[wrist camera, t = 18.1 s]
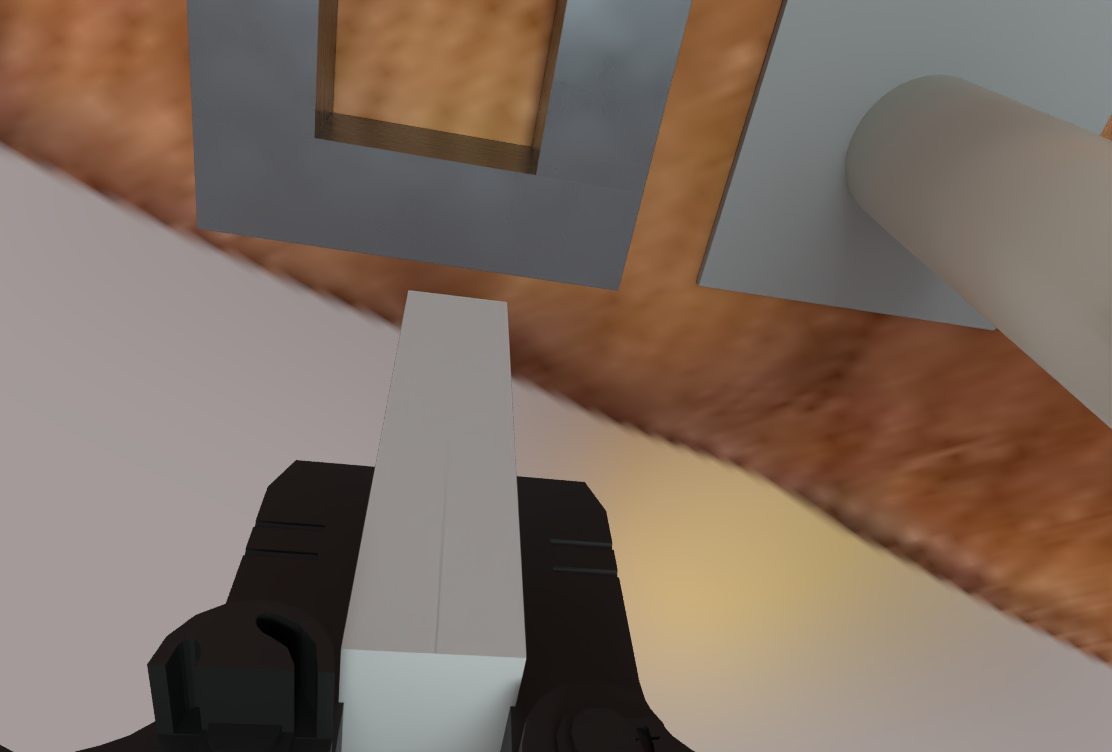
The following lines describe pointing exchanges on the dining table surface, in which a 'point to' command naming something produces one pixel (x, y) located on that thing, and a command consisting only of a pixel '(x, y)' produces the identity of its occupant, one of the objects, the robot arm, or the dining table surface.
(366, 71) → the dining table surface
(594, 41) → the housing
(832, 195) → the mat
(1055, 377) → the cream upright pillar
